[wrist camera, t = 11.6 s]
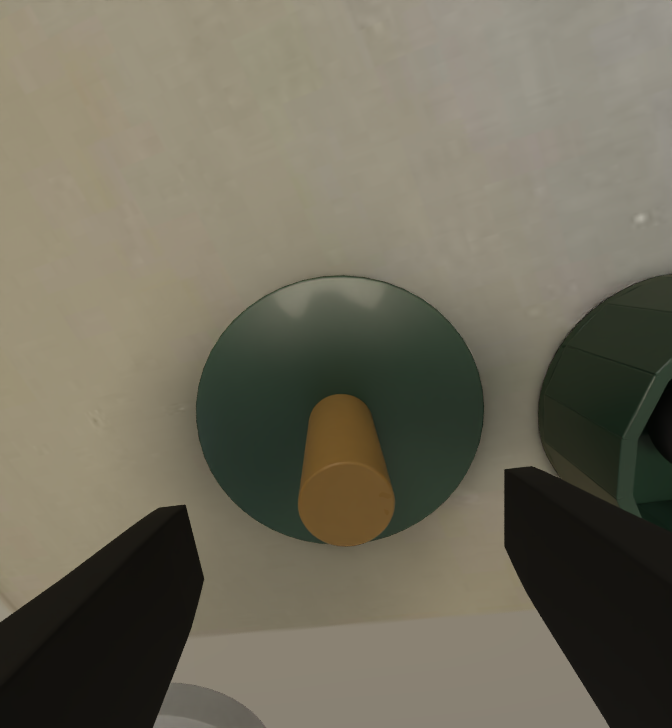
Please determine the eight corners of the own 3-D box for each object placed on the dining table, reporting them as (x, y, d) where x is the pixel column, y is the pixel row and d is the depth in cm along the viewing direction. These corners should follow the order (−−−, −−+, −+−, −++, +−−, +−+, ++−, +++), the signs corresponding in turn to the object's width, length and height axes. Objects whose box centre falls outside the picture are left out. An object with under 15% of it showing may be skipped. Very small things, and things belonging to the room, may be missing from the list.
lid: (476, 512, 16) (559, 651, 10) (232, 539, 16) (177, 692, 11) (470, 258, 14) (578, 251, 8) (178, 293, 14) (64, 312, 8)
